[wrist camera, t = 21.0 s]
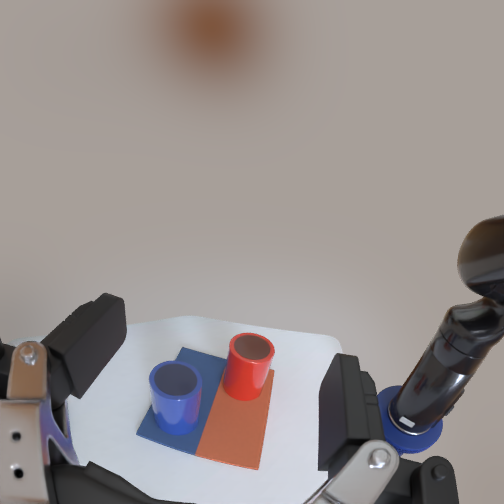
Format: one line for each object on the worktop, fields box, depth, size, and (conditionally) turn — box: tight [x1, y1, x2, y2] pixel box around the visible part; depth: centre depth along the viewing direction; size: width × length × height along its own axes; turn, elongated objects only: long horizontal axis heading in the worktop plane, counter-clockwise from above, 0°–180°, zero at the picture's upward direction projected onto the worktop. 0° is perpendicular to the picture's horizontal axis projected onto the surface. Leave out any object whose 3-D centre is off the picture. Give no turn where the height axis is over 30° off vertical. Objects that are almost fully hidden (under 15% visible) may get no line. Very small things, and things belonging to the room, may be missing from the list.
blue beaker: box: [149, 361, 203, 436], centre depth 31 cm, size 6×6×9 cm
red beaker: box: [223, 333, 275, 401], centre depth 39 cm, size 6×6×8 cm
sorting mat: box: [136, 347, 274, 470], centre depth 37 cm, size 16×19×1 cm
